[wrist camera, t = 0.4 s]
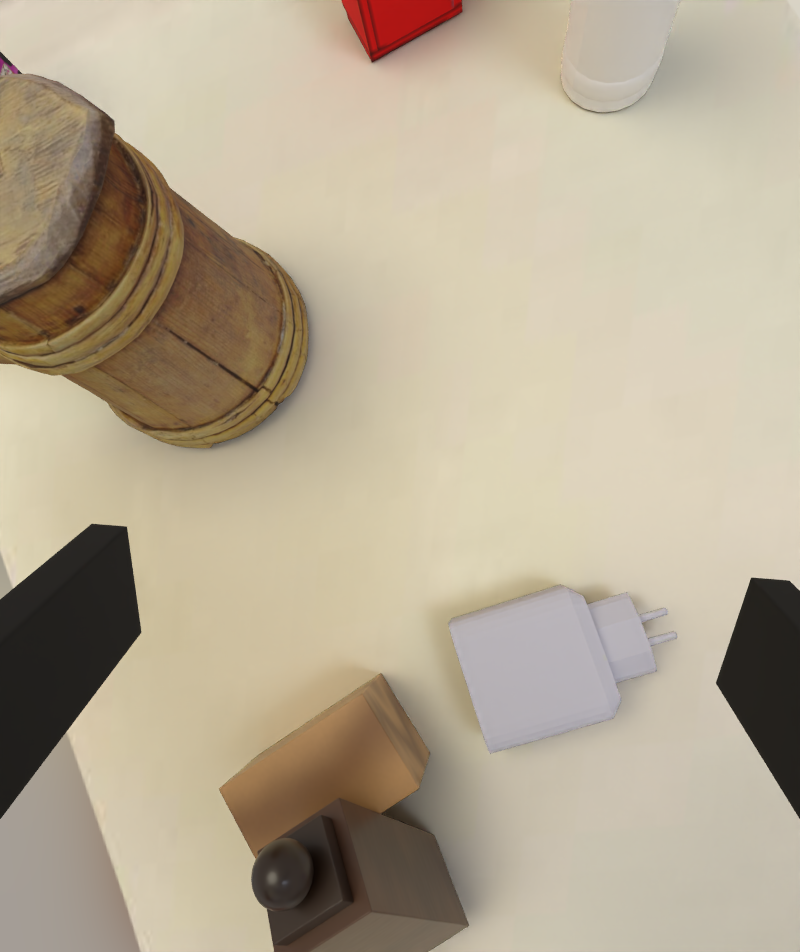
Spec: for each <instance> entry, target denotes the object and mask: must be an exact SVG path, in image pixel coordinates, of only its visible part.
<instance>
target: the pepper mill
mask: <svg viewBox="0 0 800 952" xmlns="http://www.w3.org/2000/svg"><path fill="white" fill-rule="evenodd" d="M257 853H258V856H257V858H256V860H255V863H254V865H253V869H252V877H251V881H252V888H253V892H254V894H255V897H256V898H257V900H258V901H259V903H260V904H261V905H262V906H264V907H265V908H267V912H268V917H269V923H270V929H271V935H272V941H273V947H274V952H429V951H430V950H432V949H433V948H435V947H436V946H438V945H440V944H441V943H443V942H444V941H446V940H447V939H449V938H451V937H452V936H454V935H455V934H457V933H458V932H460V931H462V930H463V929H465V928H466V927H468V926H469V924H468V921H467V919H466V916H465V913H464V911H463V908H462V906H461V903H460V901H459V898H458V895H457V893H456V890H455V888H454V885H453V883H452V880H451V877H450V875H449V872H448V870H447V867H446V864H445V862H444V859H443V857H442V854H441V852H440V849H439V846H438V844H437V841H436V839H435V836H434V835H433V834H430V833H428V832H425V831H423V830H420V829H418V828H415V827H413V826H410V825H408V824H405V823H402V822H400V821H397V820H395V819H392V818H390V817H387V816H385V815H382V814H380V813H377V812H375V811H372V810H370V809H367V808H365V807H362V806H360V805H357V804H354V803H352V802H349V801H347V800H344V799H342V798H337V799H336V800H334V801H333V802H331V803H330V804H328V805H327V806H325V807H324V808H322V809H321V810H319V811H318V812H316V813H315V814H313V815H311V816H310V817H308V818H307V819H305V820H304V821H302V822H301V823H299V824H298V825H296V826H295V827H293V828H292V829H290V830H289V831H287V832H286V833H284V834H283V835H281V836H280V837H278V838H277V839H275V840H273V841H272V842H270V843H269V844H267V845H266V846H264V847H263V848H261V849H260V850H258V851H257Z"/></svg>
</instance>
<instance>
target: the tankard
mask: <svg viewBox="0 0 800 952" xmlns="http://www.w3.org/2000/svg"><path fill="white" fill-rule="evenodd" d="M307 352H308V322H307V313H306V308H305V304H304V301H303V299H302V297H301V294H300V292H299V290H298V289H297V287H296V285H295V284H294V282H293V280H292V278H291V277H290V276H289V275H288V274H287V273H286V271H285V270H284V269H283V268H282V267H281V266H280V265H279V264H278V263H277V262H276V261H275V260H274V259H273V258H272V257H271V256H270V255H269V254H267V253H266V252H264V251H262V250H261V249H259V248H257V247H255V246H253V245H251V244H249V243H247V242H245V241H244V240H241V239H237V238H234V237H232V236H231V235H230V234H228V233H227V232H226V231H225V230H223V229H222V228H221V227H220V226H218V225H217V224H216V223H214V222H213V221H212V220H210V219H209V218H208V217H206V216H205V215H204V214H203V213H201V212H200V211H199V210H197V209H196V208H195V207H194V206H192V205H191V204H190V203H189V202H187V201H186V200H185V199H183V198H182V197H181V196H180V195H178V194H177V193H176V192H174V191H173V190H172V189H171V188H170V187H169V186H168V184H167V182H166V180H165V179H164V177H163V175H162V173H161V172H160V171H159V170H158V169H157V167H156V166H155V165H154V164H153V163H152V162H151V161H150V160H149V159H148V158H147V157H145V156H144V155H143V154H142V153H141V152H139V151H138V150H137V149H135V148H134V147H133V146H131V145H130V144H128V143H127V142H125V141H124V140H123V139H122V138H121V137H120V136H119V135H117V134H116V133H115V126H114V120H113V119H112V118H110V117H109V116H108V115H107V114H106V113H105V112H103V111H102V110H100V109H99V108H98V107H96V106H95V105H93V104H92V103H91V102H89V101H88V100H87V99H85V98H84V97H83V96H81V95H80V94H78V93H76V92H74V91H73V90H71V89H69V88H68V87H66V86H64V85H62V84H61V83H59V82H57V81H53V80H49V79H46V78H44V77H41V76H37V75H33V74H8V75H1V76H0V364H17V365H19V366H22V367H24V368H27V369H30V370H34V371H37V372H41V373H45V374H49V375H62V376H64V377H66V378H67V379H69V380H70V381H72V382H74V383H76V384H78V385H79V386H81V387H83V388H85V389H87V390H88V391H90V392H92V393H93V394H95V395H96V396H98V397H100V398H101V399H103V400H105V401H106V402H107V403H108V404H109V406H110V407H111V409H112V410H113V411H114V413H115V414H116V415H117V416H118V417H119V418H120V419H122V420H123V421H124V422H125V423H126V424H128V425H129V426H131V427H133V428H135V429H137V430H139V431H141V432H143V433H145V434H148V435H149V436H151V437H153V438H155V439H157V440H160V441H162V442H165V443H168V444H172V445H175V446H181V447H192V448H211V446H212V445H213V444H214V443H220V442H223V441H226V440H229V439H232V438H236V437H238V436H240V435H242V434H244V433H246V432H248V431H250V430H252V429H253V428H255V427H256V426H257V425H259V424H260V423H261V422H262V421H264V420H265V419H266V418H267V417H268V416H269V415H270V414H271V413H272V412H273V411H275V410H276V408H277V406H278V404H279V403H281V402H283V400H284V399H285V397H287V396H289V395H291V393H292V392H293V390H294V389H295V388H296V386H297V384H298V382H299V379H300V377H301V375H302V372H303V369H304V366H305V363H306V360H307Z"/></svg>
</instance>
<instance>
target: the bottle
mask: <svg viewBox="0 0 800 952" xmlns="http://www.w3.org/2000/svg"><path fill="white" fill-rule="evenodd" d="M679 3H680V0H571V6H570V13H569V20H568V27H567V31H566V37H565V42H564V47H563V52H562V61H561V64H562V68H561V80H562V85H563V89H564V91H565V92H566V93H567V95H568V96H569V98H570V99H571V100H572V101H573V102H574V103H576V104H578V105H579V106H581V107H582V108H584V109H587V110H592V111H596V112H611V111H618V110H620V109H623V108H625V107H628V106H630V105H632V104H634V103H635V102H636V101H637V100H639V99H640V98H641V97H642V96H643V95H645V93H646V92H647V90H648V88H649V87H650V85H651V83H652V82H653V80H654V77H655V74H656V71H657V70H658V68H659V66H660V63H661V60H662V57H663V54H664V49H665V44H666V41H667V38H668V35H669V32H670V29H671V27H672V24H673V21H674V18H675V15H676V12H677V9H678V6H679Z"/></svg>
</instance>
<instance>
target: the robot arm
mask: <svg viewBox="0 0 800 952" xmlns="http://www.w3.org/2000/svg"><path fill="white" fill-rule="evenodd" d="M140 633H141V626H140V619H139V612H138V604H137V597H136V590H135V583H134V575H133V568H132V561H131V554H130V546H129V539H128V532H127V527H124V526H112V525H99V524H91V525H90V526H89V527H88V528H86V529H85V530H84V531H83V532H81V533H80V534H79V535H78V536H77V537H75V538H74V539H73V540H72V541H71V542H69V543H68V544H67V545H66V546H64V547H63V548H62V549H61V550H60V551H58V552H57V553H56V554H55V555H54V556H52V557H51V558H50V559H49V560H48V561H46V562H45V563H44V564H43V565H41V566H40V567H39V568H38V569H37V570H35V571H34V572H33V573H32V574H31V575H29V576H28V577H27V578H26V579H25V580H23V581H22V582H21V583H20V584H18V585H17V586H16V587H15V588H14V589H12V590H11V591H10V592H9V593H8V594H6V595H5V596H4V597H3V598H2V599H0V819H1V818H2V816H3V815H4V813H5V812H6V811H7V809H8V808H9V807H10V805H11V804H12V803H13V802H14V800H15V799H16V797H17V796H18V795H19V794H20V792H21V791H22V790H23V788H24V787H25V786H26V784H27V783H28V782H29V780H30V779H31V778H32V776H33V775H34V774H35V772H36V771H37V770H38V768H39V767H40V766H41V764H42V763H43V762H44V761H45V759H46V758H47V757H48V755H49V754H50V753H51V751H52V750H53V749H54V747H55V746H56V745H57V743H58V742H59V741H60V739H61V738H62V737H63V735H64V734H65V733H66V731H67V730H68V729H69V727H70V726H71V725H72V723H73V722H74V721H75V720H76V718H77V717H78V716H79V714H80V713H81V712H82V710H83V709H84V708H85V706H86V705H87V704H88V702H89V701H90V700H91V698H92V697H93V696H94V694H95V693H96V692H97V690H98V689H99V688H100V686H101V685H102V684H103V682H104V681H105V680H106V678H107V677H108V676H109V674H110V673H111V672H112V671H113V669H114V668H115V667H116V665H117V664H118V663H119V661H120V660H121V659H122V657H123V656H124V655H125V653H126V652H127V651H128V649H129V648H130V647H131V645H132V644H133V643H134V641H135V640H136V639H137V637H138V636H139V635H140ZM716 684H717V685H718V687H719V689H720V690H721V692H722V694H723V695H724V697H725V698H726V700H727V702H728V703H729V705H730V707H731V708H732V710H733V711H734V713H735V715H736V716H737V718H738V720H739V721H740V723H741V724H742V726H743V728H744V729H745V731H746V732H747V734H748V736H749V737H750V739H751V741H752V742H753V744H754V745H755V747H756V749H757V750H758V752H759V754H760V755H761V757H762V758H763V760H764V762H765V763H766V765H767V767H768V768H769V770H770V771H771V773H772V775H773V776H774V778H775V780H776V781H777V783H778V784H779V786H780V788H781V789H782V791H783V792H784V794H785V796H786V797H787V799H788V801H789V802H790V804H791V805H792V807H793V809H794V810H795V812H796V814H797V815H798V817H799V818H800V591H799V590H798V589H797V588H796V587H795V586H794V585H793V584H792V583H791V582H790V581H787V580H774V579H762V578H751V580H750V583H749V586H748V589H747V592H746V595H745V598H744V601H743V604H742V607H741V610H740V613H739V616H738V619H737V622H736V625H735V628H734V631H733V634H732V637H731V640H730V643H729V646H728V649H727V652H726V655H725V658H724V661H723V664H722V667H721V670H720V673H719V676H718V679H717V682H716Z"/></svg>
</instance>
